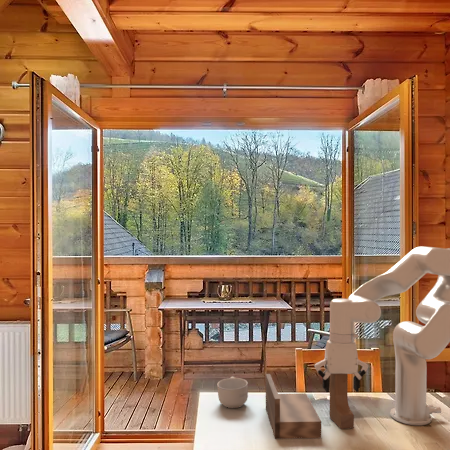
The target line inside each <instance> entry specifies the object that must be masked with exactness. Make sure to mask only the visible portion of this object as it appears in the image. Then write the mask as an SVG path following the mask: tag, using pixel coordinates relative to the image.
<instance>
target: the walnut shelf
mask: <svg viewBox="0 0 450 450" xmlns="http://www.w3.org/2000/svg"><path fill="white" fill-rule="evenodd" d="M272 377H273V376H272V375H271V373H266V374H265V410H266V414H267V417H268V421H269V425H270V426H271V430H272V433H273V438H274V439H275V440H277V439H278V440H281V439H282V440H283V439H286V440H287V439H288V440H289V439H322V420H321V418H320V416H319V414H318V413H317V411H316V409H315V407H314V406H313V404H312V402H311V400H310V399H309V397H308V395H307V393H279V392H278V391H277V388H276V385H275V383H274V380H273V378H272Z"/></svg>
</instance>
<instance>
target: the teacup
mask: <svg viewBox="0 0 450 450" xmlns="http://www.w3.org/2000/svg"><path fill="white" fill-rule="evenodd" d="M216 384H217V385H216V386H217V396H218V401H219V402H220V404H221V405H223V406H224V407H225V408H227V407H228V408H227V409H238V408H240V407H242V406H244V404H246V403H247V401H248V397H249V395H248V394H249V393H248V392H249V387H248V384H249V383H248V381H247V380H246V379H244V378H241V377H240V378H239V377H235V376H230V378H228V377H227V378H224V379H221V380H219V381H218V382H217V383H216Z"/></svg>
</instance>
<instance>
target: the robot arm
mask: <svg viewBox="0 0 450 450" xmlns="http://www.w3.org/2000/svg"><path fill="white" fill-rule="evenodd" d="M426 274H431V275H437V280H436V282H435V284H434V285H433V287H432V288H431V289H430V291H428V293H427V294H426V296H425V297H424V298H423V299H422V300H421V301H420V302H419V304H418V305H417V307H416V310H415V316H416V317H417V319H418V321H419V322H421V323H422V324H425V325H422V324H420V323H417V322H414V321H409V320H404V321H401V322H399V323H398V324H396V325H395V327H394V329H393V331H392V341H393V347H394V354H395V355H394V357H395V377H394V378H395V380H394V382H395V383H394V384H395V386H394V387H395V396H394V397H395V399H394V400H395V401H394V402H395V403H394V407H393V408H391V409H390V412H389V414H390V417H391V418H392V419H393V420H395V421H397V422H399V423H402V424H405V425H411V426H425V425H429V424H431V422H432V414H442V409H441V406H434V405H433V404H428V403H427V370H428V369H427V360H432V359H434V358H436V357H438V356H439V355H440V354H441V353H442V352H443V351H444V350H445V349H446V347H447V346H448V345H449V343H450V247H448V248H443V247H433V246H425V245H424V246H423V245H422V246H421V245H420V246H417V247H414V248H413V249H411V250H410V251H409V252H408V253H406V254H405V255H404V256H403V257H402V258H401V259H400V260H398V262H397V263H395V264H394V265H393V266H392V267H391V268H389V269H388V270H387V271H385V272H384V273H382V274H379V275H377V276H376V277H374V278H372V279H370V280H368V281H366V282H364V283H363V284H362V285H360V286H359V287H357V289H355V290H354V292H352V293H351V294H350V295H349V296H348V298H342V297H341V298H333V299H332V300H330V303H329V338H330V340H329V339H328V340H326V344H325V351H324V359H322V360H320V361H318V362H316V363H315V364H314V368H315V370H316V372H317V374H318V375H319V376H320V377H322V389H323V390H324V391H325V392H326V393H330V379H328V378H330V375H331V374H348V375H354V376H353V381H352V383H353V385H352V388H353V390H354V391H355V392H356V393H359V390H360V388H361V379H362V378H363V377H364V375H365V374H366V372H367V370H368V368H369V366H370V365H369V364H368V363H366V362H364V361H363V360H360V359H359V354H358V349H357V343H356V341H355V339H358V338H359V334H358V333H355V323H361V324H372V323H375V322H377V321H378V320H379V319H380V318H381V316H382V309H381V306H380V305H379V304H378V303H377V301H379V300H380V299H383V298H385V297H388V296H394V295H399V294H402V293H406V292H407V291H408V290H409V289H411V288H412V286H413V285H415V284H416V283H417V282H418V281H419V280H420V279H422V278H423V277H424V276H425V275H426ZM323 366H324V369H325V370H324V371H322V369H321V368H322V367H323ZM359 366H361V369H359Z"/></svg>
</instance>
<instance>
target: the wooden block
mask: <svg viewBox="0 0 450 450" xmlns="http://www.w3.org/2000/svg"><path fill="white" fill-rule="evenodd" d="M348 375H349V374H331V375H330V376H329V395H330V400H329V418H330V419H331V420H332V422H334V423H335V424H336V426H338V428H339V429H341V430H347V429H354V427H355V415H354V413H353V411H352V410H351V408H350V405H349V400H348V399H349V398H348V385H349V383H348V380H349V379H348V378H349V377H348Z"/></svg>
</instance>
